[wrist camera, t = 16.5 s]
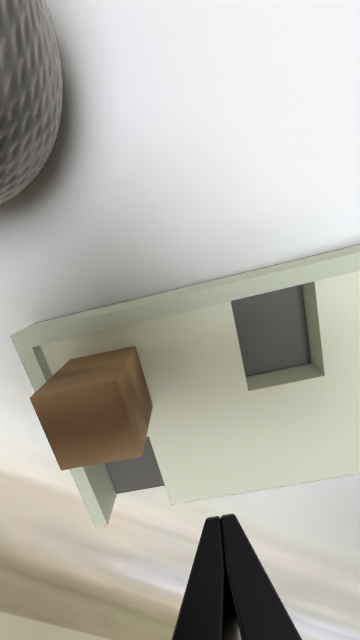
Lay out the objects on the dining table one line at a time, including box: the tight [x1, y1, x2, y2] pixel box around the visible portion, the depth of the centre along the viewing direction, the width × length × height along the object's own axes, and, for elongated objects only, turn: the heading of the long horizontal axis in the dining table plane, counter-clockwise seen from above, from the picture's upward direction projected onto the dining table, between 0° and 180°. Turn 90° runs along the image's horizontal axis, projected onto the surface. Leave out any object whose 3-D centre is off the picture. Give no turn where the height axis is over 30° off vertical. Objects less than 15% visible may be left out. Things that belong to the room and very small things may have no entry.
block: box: [30, 346, 153, 470], centre depth 15 cm, size 4×4×4 cm
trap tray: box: [10, 245, 360, 527], centre depth 18 cm, size 16×25×3 cm, turn 104°
